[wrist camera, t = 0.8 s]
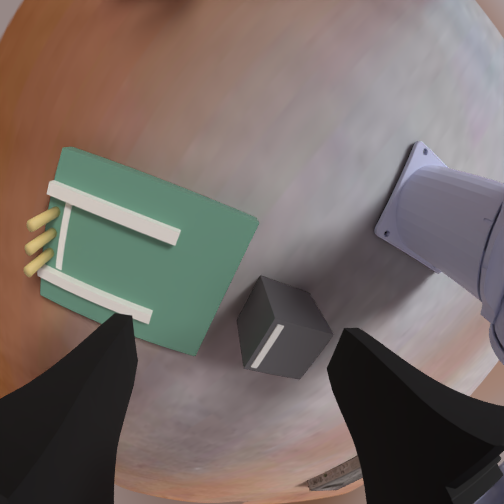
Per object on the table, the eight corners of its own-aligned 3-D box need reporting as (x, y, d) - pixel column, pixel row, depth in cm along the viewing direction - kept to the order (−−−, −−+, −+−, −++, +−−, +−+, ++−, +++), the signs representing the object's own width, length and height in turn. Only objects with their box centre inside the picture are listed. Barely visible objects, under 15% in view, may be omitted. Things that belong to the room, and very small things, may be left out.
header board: (256, 217, 17) (268, 240, 13) (195, 345, 20) (194, 386, 16) (71, 146, 13) (35, 150, 10) (47, 287, 17) (21, 316, 13)
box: (398, 442, 38) (404, 453, 36) (332, 480, 42) (336, 491, 39) (380, 438, 35) (387, 451, 32) (305, 479, 38) (308, 492, 35)
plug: (308, 292, 20) (334, 335, 15) (283, 333, 21) (300, 380, 16) (260, 274, 19) (275, 319, 14) (236, 319, 20) (243, 369, 15)
